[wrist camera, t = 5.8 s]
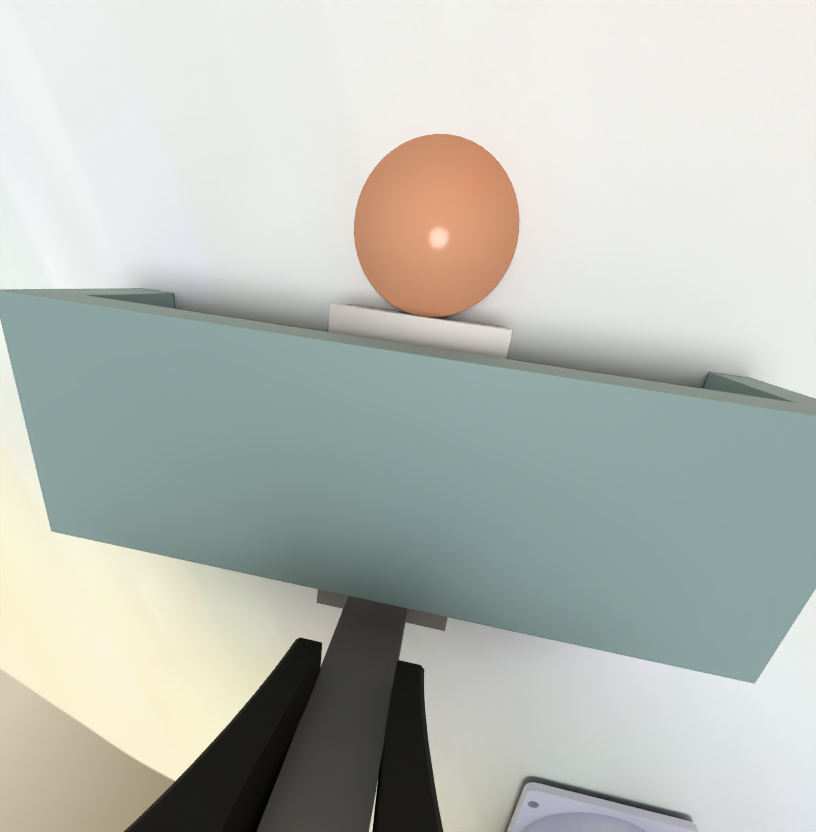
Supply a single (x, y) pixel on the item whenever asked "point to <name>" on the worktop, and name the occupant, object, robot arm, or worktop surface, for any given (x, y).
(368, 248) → the orange rounded disc
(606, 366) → the worktop surface
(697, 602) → the grey-green bridge-shaped bar
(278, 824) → the scraper
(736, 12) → the worktop surface
